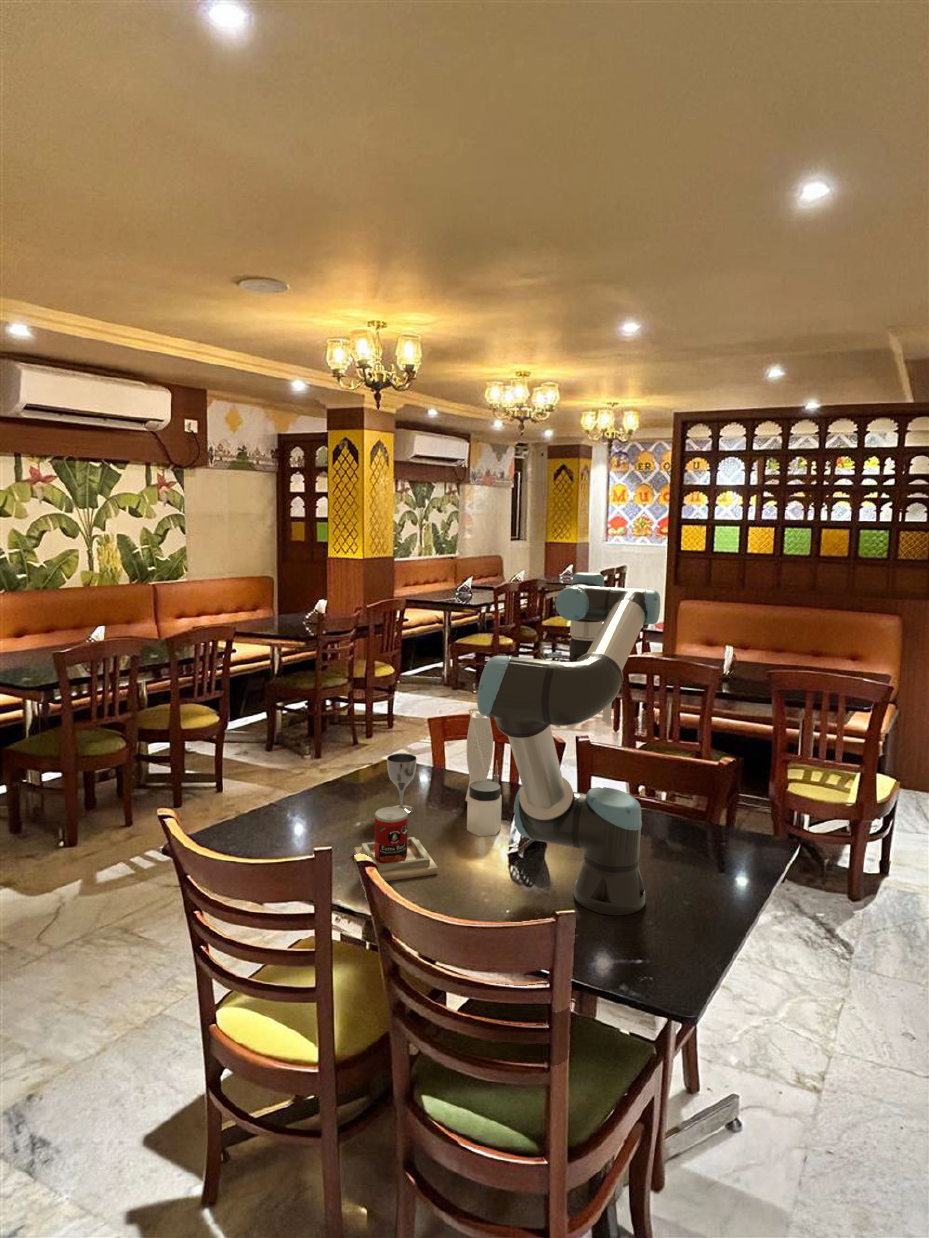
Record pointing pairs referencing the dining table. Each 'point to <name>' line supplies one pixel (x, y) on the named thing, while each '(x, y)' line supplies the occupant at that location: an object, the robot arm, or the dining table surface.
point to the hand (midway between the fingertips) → (581, 724)
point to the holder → (410, 867)
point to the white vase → (479, 748)
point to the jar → (484, 808)
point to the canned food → (391, 834)
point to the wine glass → (401, 773)
